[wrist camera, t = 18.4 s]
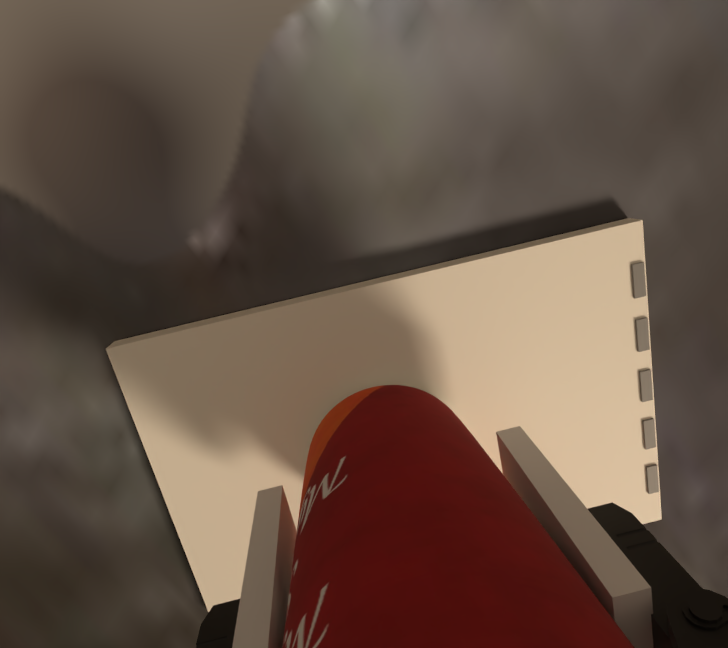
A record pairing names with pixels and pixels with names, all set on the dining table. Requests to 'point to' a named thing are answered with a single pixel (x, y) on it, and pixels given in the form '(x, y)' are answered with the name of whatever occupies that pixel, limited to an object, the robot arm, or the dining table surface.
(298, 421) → the ticket
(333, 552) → the paper cup
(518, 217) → the dining table surface
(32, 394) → the dining table surface
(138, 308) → the dining table surface
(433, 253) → the dining table surface
